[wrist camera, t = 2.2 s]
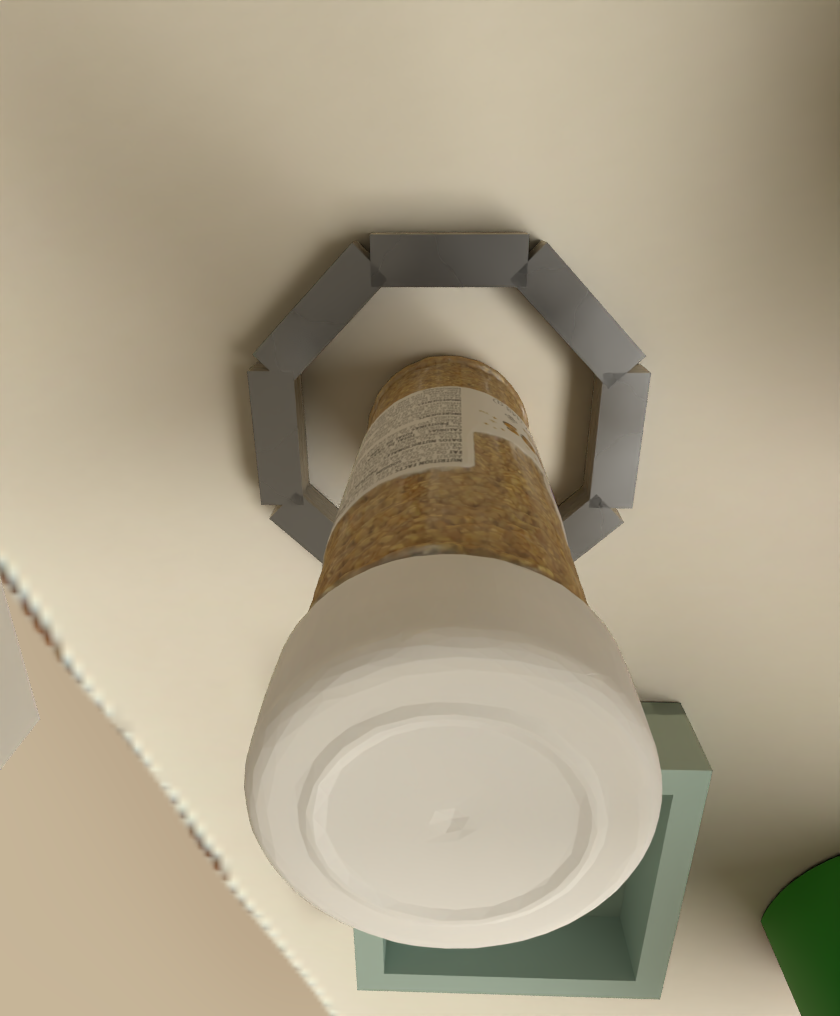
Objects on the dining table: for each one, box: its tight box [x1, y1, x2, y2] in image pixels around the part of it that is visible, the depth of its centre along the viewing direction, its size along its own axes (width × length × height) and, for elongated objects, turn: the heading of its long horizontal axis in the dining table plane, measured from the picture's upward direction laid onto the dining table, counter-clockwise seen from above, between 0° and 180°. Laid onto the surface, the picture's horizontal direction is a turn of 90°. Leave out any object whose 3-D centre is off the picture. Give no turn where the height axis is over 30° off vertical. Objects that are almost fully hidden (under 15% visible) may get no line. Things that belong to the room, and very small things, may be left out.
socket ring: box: [247, 232, 651, 563], centre depth 19 cm, size 10×10×1 cm
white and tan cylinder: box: [244, 356, 662, 949], centre depth 13 cm, size 5×5×14 cm
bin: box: [353, 702, 712, 999], centre depth 24 cm, size 11×11×3 cm
